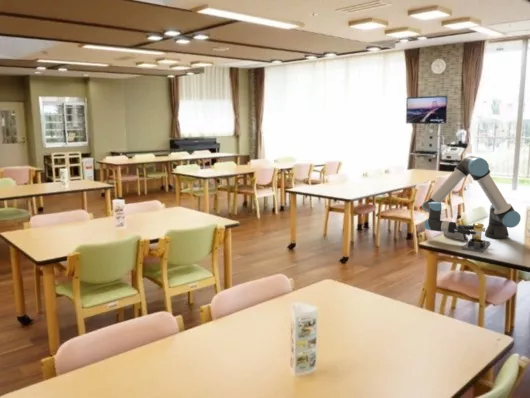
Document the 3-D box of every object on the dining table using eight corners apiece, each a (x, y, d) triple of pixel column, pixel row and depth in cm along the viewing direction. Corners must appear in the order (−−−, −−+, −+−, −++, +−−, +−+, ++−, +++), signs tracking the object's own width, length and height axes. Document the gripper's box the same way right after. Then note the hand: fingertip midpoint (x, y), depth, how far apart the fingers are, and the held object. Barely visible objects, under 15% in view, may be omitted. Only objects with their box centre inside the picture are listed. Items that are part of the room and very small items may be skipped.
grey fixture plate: (470, 240, 330) (471, 233, 329) (489, 243, 323) (490, 235, 322) (462, 249, 307) (463, 241, 306) (482, 252, 301) (483, 244, 300)
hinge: (468, 239, 333) (466, 226, 330) (463, 242, 331) (461, 229, 328) (448, 234, 347) (446, 221, 344) (443, 236, 345) (441, 224, 342)
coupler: (480, 243, 317) (482, 223, 315) (482, 245, 312) (484, 225, 309) (470, 243, 318) (471, 222, 316) (472, 245, 313) (474, 224, 310)
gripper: (452, 229, 334) (486, 233, 323) (444, 236, 313) (479, 241, 302) (453, 218, 333) (487, 222, 321) (444, 225, 312) (480, 229, 301)
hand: (483, 231), depth 312 cm, fingers open, 13 cm apart
